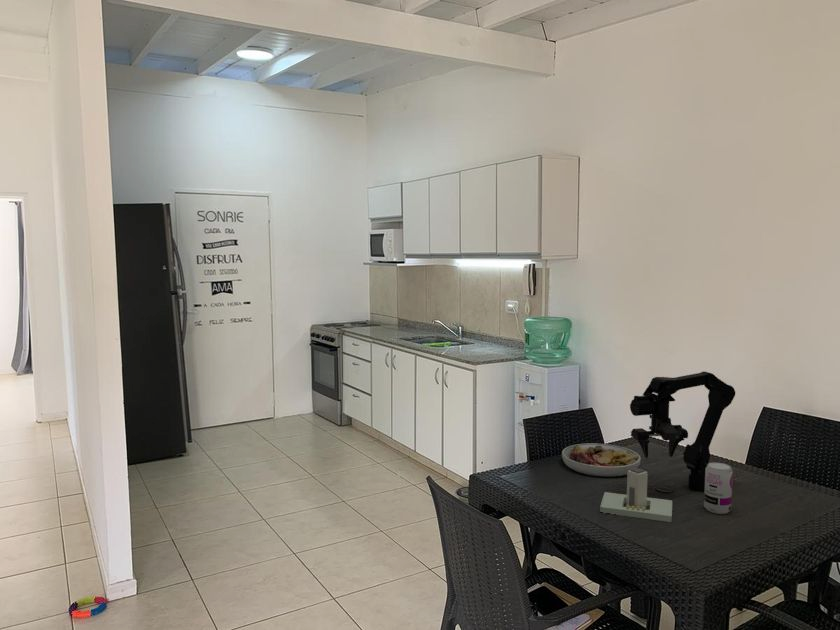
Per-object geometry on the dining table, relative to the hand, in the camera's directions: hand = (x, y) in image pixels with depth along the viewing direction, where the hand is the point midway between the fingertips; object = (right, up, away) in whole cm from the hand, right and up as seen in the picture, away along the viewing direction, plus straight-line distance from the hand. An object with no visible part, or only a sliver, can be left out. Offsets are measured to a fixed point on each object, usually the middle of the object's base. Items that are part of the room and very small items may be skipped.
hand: (658, 457), depth 238 cm
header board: (-12, -15, -13) cm, 23 cm away
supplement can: (+15, -15, -14) cm, 25 cm away
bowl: (-12, -10, +31) cm, 35 cm away
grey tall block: (-12, -15, -13) cm, 23 cm away
